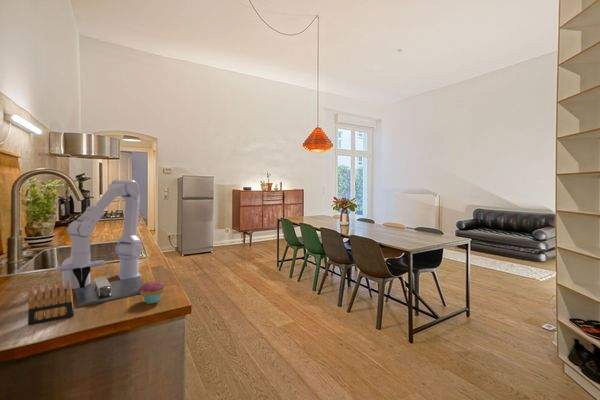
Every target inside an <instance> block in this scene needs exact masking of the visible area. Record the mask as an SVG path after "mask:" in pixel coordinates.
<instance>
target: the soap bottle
mask: <svg viewBox="0 0 600 400" xmlns="http://www.w3.org/2000/svg"><path fill="white" fill-rule="evenodd" d="M64 243H65V245H66V246H71V239H70V235H69V234H68V233H67V230H64ZM67 264H72V252H71V251H70V256H69V257H67V258H66V259H65V260H63V261H62V263H61V266H62V265H67ZM81 272H82V269H81ZM61 273H62V274H61V275H62V276H61V278H62V279H61V280H62V282H63V284H64V290H66V287H67V282H68V280H69V281H70V283H71V290H75V288H80V286H79V282H78V280H77V278H76V276H75V275H74V273H73V270H69V271H62V272H61ZM90 284H91V272H90V273H89V274H88V277H87V279H86V282H85V286H90Z"/></svg>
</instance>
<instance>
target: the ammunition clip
mask: <svg viewBox="0 0 600 400" xmlns="http://www.w3.org/2000/svg"><path fill="white" fill-rule="evenodd" d="M28 289H29V290H28V300H27V304H28V311H27V313H28V315H27V326H28V327H30V326H34V325H40V324H45V323H50V322H55V321H60V320H61V321H62V320H66V319H70V318H73V317H74V315H75V314H74V304H73V302H74V301H73V299H74V298H73V291H72V290H73V289H71V283H70V281H69V280H68V282H67V287H66V289H64V284H63V281H60V283H59V288H58V286H57V284H56V282H55V281H54V282H53V283H52V288H50V286H49V283H48V282H47V283H45V286H44V295H43V289H42V285H41V284H37V288H36V297H35V289H34V286H33V285H32V284H31V285H30V286H29V288H28ZM50 289H51V291H50ZM58 290H59V291H58ZM65 290H66V291H65ZM58 292H59V293H58Z"/></svg>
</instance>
